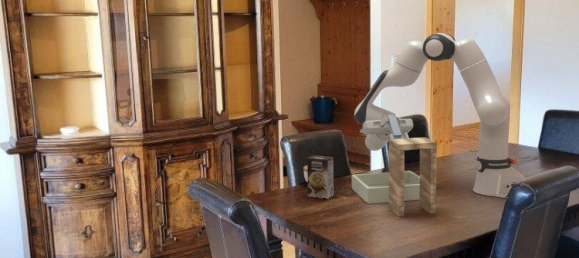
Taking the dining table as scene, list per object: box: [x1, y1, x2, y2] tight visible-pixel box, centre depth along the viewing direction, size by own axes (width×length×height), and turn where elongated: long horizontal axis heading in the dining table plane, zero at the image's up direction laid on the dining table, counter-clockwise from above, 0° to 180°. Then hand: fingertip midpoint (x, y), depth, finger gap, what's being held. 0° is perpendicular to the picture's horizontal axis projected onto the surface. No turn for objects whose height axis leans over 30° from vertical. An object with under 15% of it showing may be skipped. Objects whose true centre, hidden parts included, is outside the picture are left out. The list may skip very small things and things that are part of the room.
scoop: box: [387, 114, 410, 140], centre depth 212 cm, size 7×16×3 cm
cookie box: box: [306, 154, 334, 200], centre depth 221 cm, size 9×6×16 cm
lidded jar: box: [303, 165, 308, 183], centre depth 239 cm, size 11×11×9 cm
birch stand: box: [388, 136, 438, 217], centre depth 198 cm, size 14×10×26 cm
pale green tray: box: [351, 170, 420, 205], centre depth 222 cm, size 26×22×6 cm
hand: (393, 119), depth 214 cm, fingers closed on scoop, 3 cm apart
